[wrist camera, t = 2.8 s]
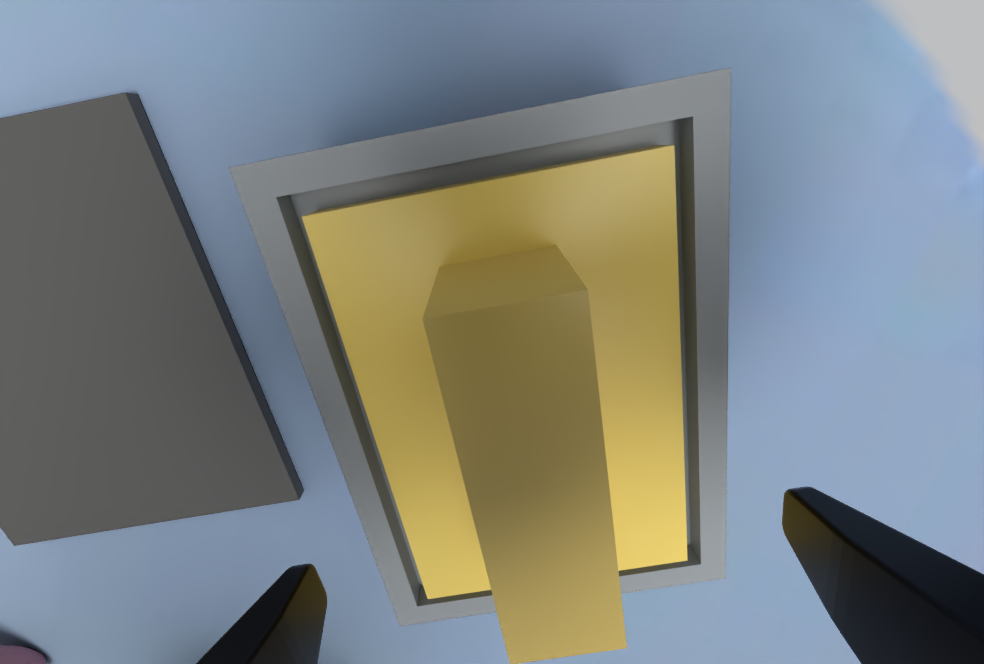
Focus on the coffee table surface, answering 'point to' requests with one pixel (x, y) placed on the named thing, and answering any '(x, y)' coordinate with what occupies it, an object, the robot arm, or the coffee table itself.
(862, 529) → the robot arm
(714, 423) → the box
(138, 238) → the mat
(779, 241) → the coffee table surface
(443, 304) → the lid
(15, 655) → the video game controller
